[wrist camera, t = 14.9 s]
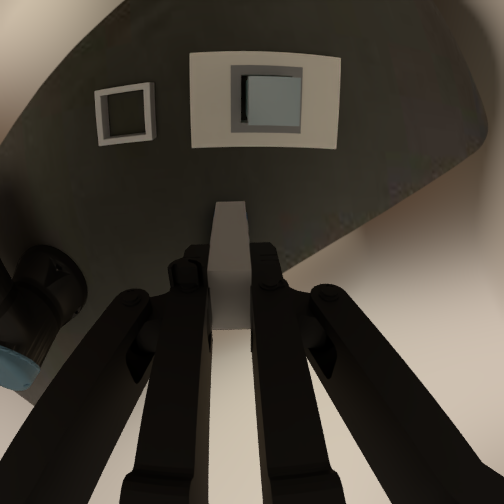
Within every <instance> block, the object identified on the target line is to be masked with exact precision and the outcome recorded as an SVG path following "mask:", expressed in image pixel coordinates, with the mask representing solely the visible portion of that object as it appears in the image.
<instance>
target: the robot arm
mask: <svg viewBox="0 0 504 504" xmlns="http://www.w3.org/2000/svg"><path fill="white" fill-rule="evenodd" d="M168 274H169V280H170V286H171V288H170V291H169V292H167V293H165V294H162V295H159V296H154V297H149V294H148V293H147V292H146V291H145V290H142V289H129V290H125V291H123V292H121V293H120V294H119V295H117V296H116V297H115V299H114V300H113V301H112V302H111V304H110V305H109V306H108V307H107V309H106V310H105V311H104V312H103V314H102V315H101V316H100V317H99V319H98V320H97V321H96V322H95V324H94V325H93V326H92V328H91V329H90V330H89V331H88V333H87V334H86V335H85V337H84V338H83V339H82V341H81V342H80V343H79V345H78V346H77V347H76V349H75V350H74V351H73V353H72V354H71V355H70V357H69V358H68V359H67V361H66V362H65V363H64V365H63V366H62V368H61V369H60V370H59V372H58V373H57V375H56V376H55V377H54V379H53V380H52V382H51V383H50V384H49V386H48V387H47V389H46V390H45V392H44V393H43V395H42V396H41V397H40V399H39V400H38V402H37V403H36V405H35V406H34V408H33V409H32V411H31V412H30V414H29V416H28V417H27V419H26V420H25V422H24V423H23V425H22V426H21V428H20V429H19V431H18V433H17V434H16V436H15V437H14V439H13V441H12V442H11V444H10V445H9V447H8V449H7V450H6V452H5V454H4V456H3V457H2V459H1V461H0V504H88V502H89V500H90V498H91V495H92V493H93V491H94V489H95V487H96V485H97V483H98V480H99V478H100V476H101V474H102V472H103V470H104V468H105V466H106V464H107V461H108V459H109V457H110V455H111V453H112V451H113V449H114V447H115V445H116V443H117V441H118V439H119V437H120V435H121V433H122V431H123V429H124V427H125V425H126V423H127V421H128V419H129V417H130V415H131V413H132V411H133V409H134V407H135V405H136V403H137V401H138V399H139V397H140V395H141V393H142V391H143V389H144V387H145V386H146V384H147V382H148V380H149V383H148V389H147V394H146V398H145V404H144V409H143V414H142V421H141V426H140V432H139V437H138V444H137V451H136V456H135V463H134V467H133V470H132V472H130V473H128V474H127V475H126V477H125V478H124V480H123V483H122V488H121V494H120V501H119V504H209V503H208V465H209V464H208V463H209V418H210V388H211V363H212V342H213V339H212V329H213V330H228V329H229V330H232V329H251V352H252V362H253V374H254V389H255V403H256V416H257V430H258V443H259V457H260V470H261V483H262V495H263V504H346V502H345V497H344V492H343V487H342V484H341V480H340V477H339V475H338V474H337V472H335V471H334V470H333V469H332V468H331V466H330V462H329V458H328V453H327V448H326V444H325V439H324V434H323V429H322V425H321V420H320V416H319V411H318V407H317V402H316V398H315V393H314V389H313V385H312V380H311V376H310V371H309V368H308V363H307V359H308V360H309V362H310V364H311V366H312V367H313V369H314V371H315V372H316V374H317V376H318V378H319V379H320V381H321V383H322V384H323V386H324V388H325V390H326V392H327V393H328V395H329V397H330V398H331V400H332V402H333V404H334V405H335V407H336V409H337V410H338V412H339V414H340V416H341V417H342V419H343V421H344V422H345V424H346V426H347V428H348V429H349V431H350V433H351V435H352V436H353V438H354V440H355V441H356V443H357V445H358V447H359V448H360V450H361V452H362V453H363V455H364V457H365V459H366V460H367V462H368V464H369V465H370V467H371V469H372V471H373V472H374V474H375V476H376V477H377V479H378V481H379V483H380V484H381V486H382V488H383V489H384V491H385V492H386V494H387V496H388V498H389V500H390V501H391V503H392V504H504V477H503V476H502V475H500V474H498V473H497V472H495V471H494V470H493V469H491V468H490V467H488V466H487V465H485V464H484V463H482V462H481V460H480V459H479V457H478V456H477V455H476V453H475V452H474V451H473V449H472V448H471V446H470V445H469V444H468V442H467V441H466V440H465V438H464V437H463V436H462V434H461V433H460V432H459V430H458V429H457V428H456V426H455V425H454V424H453V422H452V421H451V420H450V418H449V417H448V416H447V414H446V413H445V412H444V411H443V409H442V408H441V407H440V405H439V404H438V403H437V402H436V400H435V399H434V398H433V396H432V395H431V394H430V393H429V391H428V390H427V389H426V388H425V386H424V385H423V384H422V382H421V381H420V380H419V379H418V377H417V376H416V375H415V374H414V373H413V371H412V370H411V369H410V368H409V367H408V365H407V364H406V363H405V361H404V360H403V359H402V358H401V356H400V355H399V354H398V353H397V352H396V350H395V349H394V348H393V347H392V346H391V345H390V343H389V342H388V341H387V340H386V338H385V337H384V336H383V335H382V334H381V332H380V331H379V330H378V329H377V328H376V326H375V325H374V324H373V323H372V322H371V321H370V319H369V318H368V317H367V316H366V315H365V314H364V313H363V311H362V310H361V309H360V308H359V307H358V305H357V304H356V303H355V302H354V301H353V300H352V298H351V297H350V296H349V295H348V294H347V293H346V292H345V291H344V290H343V289H342V288H341V287H338V286H336V285H332V284H320V285H317V286H315V287H314V288H313V289H312V290H311V293H306V292H301V291H297V290H294V289H292V288H290V287H289V285H288V283H287V281H286V280H285V279H283V275H282V271H281V267H280V263H279V259H278V256H277V251H276V248H275V247H274V246H273V245H272V244H271V243H270V242H264V243H249V239H248V228H247V218H246V208H245V201H236V202H216V207H215V214H214V221H213V229H212V236H211V244H206V245H190V246H189V247H188V248H187V249H186V250H185V253H184V257H183V258H180V259H178V260H175V261H173V262H172V263H170V265H169V266H168ZM86 298H87V286H86V282H85V279H84V277H83V275H82V273H81V271H80V270H79V268H78V267H77V266H76V264H75V263H74V262H73V261H72V260H71V259H70V258H69V257H68V256H67V255H65V254H64V253H63V252H61V251H59V250H57V249H55V248H53V247H50V246H45V245H38V246H34V247H31V248H30V249H28V250H27V251H26V252H25V253H24V254H23V256H22V257H21V258H20V259H19V261H18V263H17V266H16V271H15V273H14V276H13V278H12V279H11V277H10V275H9V274H8V272H7V270H6V268H5V266H4V264H3V263H2V261H1V259H0V386H2V387H5V388H7V389H11V390H16V391H22V390H26V389H28V388H29V387H30V386H31V384H32V383H33V381H34V379H35V378H36V376H37V374H38V373H39V372H40V368H41V366H42V363H43V361H44V359H45V357H46V355H47V353H48V351H49V349H50V347H51V345H52V343H53V341H54V339H55V337H56V335H57V333H58V331H59V330H60V328H61V327H62V326H64V325H65V324H66V323H67V322H69V321H70V320H71V319H72V318H74V317H75V316H76V315H78V313H79V312H80V311H81V309H82V307H83V305H84V304H85V301H86ZM306 357H307V358H306Z"/></svg>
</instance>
